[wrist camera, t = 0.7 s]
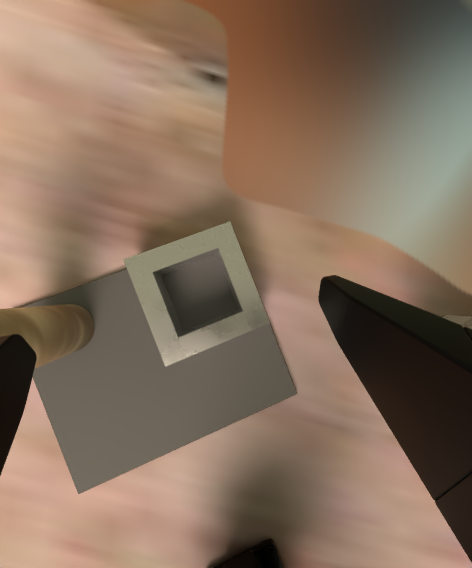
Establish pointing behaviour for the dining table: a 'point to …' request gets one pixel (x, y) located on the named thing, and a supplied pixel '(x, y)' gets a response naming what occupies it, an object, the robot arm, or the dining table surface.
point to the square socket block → (160, 307)
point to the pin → (49, 329)
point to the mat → (153, 376)
